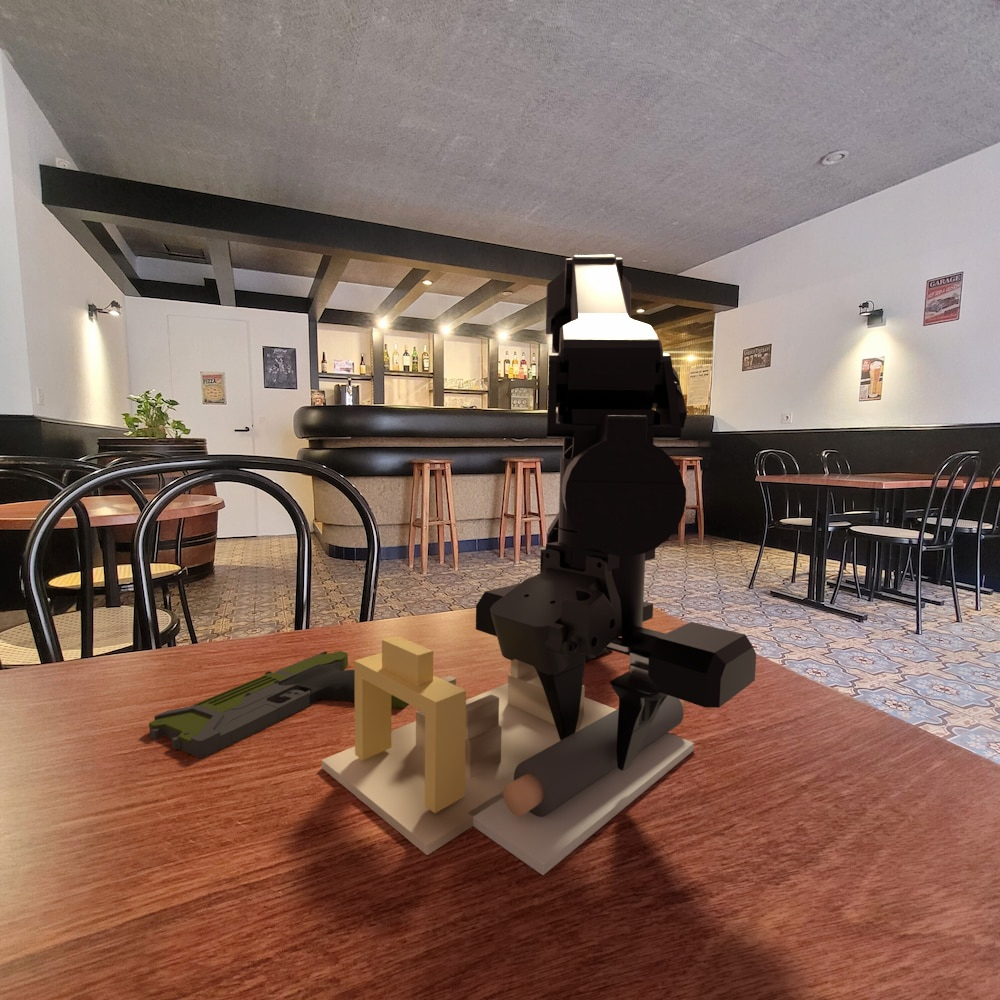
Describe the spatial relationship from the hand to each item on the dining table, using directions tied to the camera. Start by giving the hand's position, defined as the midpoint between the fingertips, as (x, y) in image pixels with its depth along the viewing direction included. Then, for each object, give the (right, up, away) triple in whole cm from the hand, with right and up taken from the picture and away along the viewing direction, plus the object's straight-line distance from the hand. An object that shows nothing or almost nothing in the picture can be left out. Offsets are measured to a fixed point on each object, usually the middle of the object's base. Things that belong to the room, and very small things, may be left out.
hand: (594, 753), depth 38 cm
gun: (-24, -2, +10) cm, 26 cm away
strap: (-13, -2, -1) cm, 13 cm away
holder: (-7, -1, +5) cm, 9 cm away
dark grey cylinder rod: (+1, 0, +1) cm, 2 cm away
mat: (0, -2, 0) cm, 2 cm away
